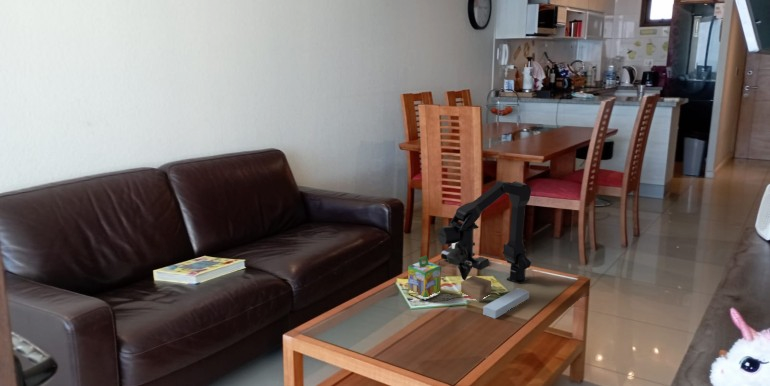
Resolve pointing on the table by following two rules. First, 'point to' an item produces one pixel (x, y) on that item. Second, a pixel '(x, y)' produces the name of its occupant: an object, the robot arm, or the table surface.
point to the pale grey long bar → (505, 303)
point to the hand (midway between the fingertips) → (464, 279)
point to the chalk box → (424, 277)
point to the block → (476, 287)
